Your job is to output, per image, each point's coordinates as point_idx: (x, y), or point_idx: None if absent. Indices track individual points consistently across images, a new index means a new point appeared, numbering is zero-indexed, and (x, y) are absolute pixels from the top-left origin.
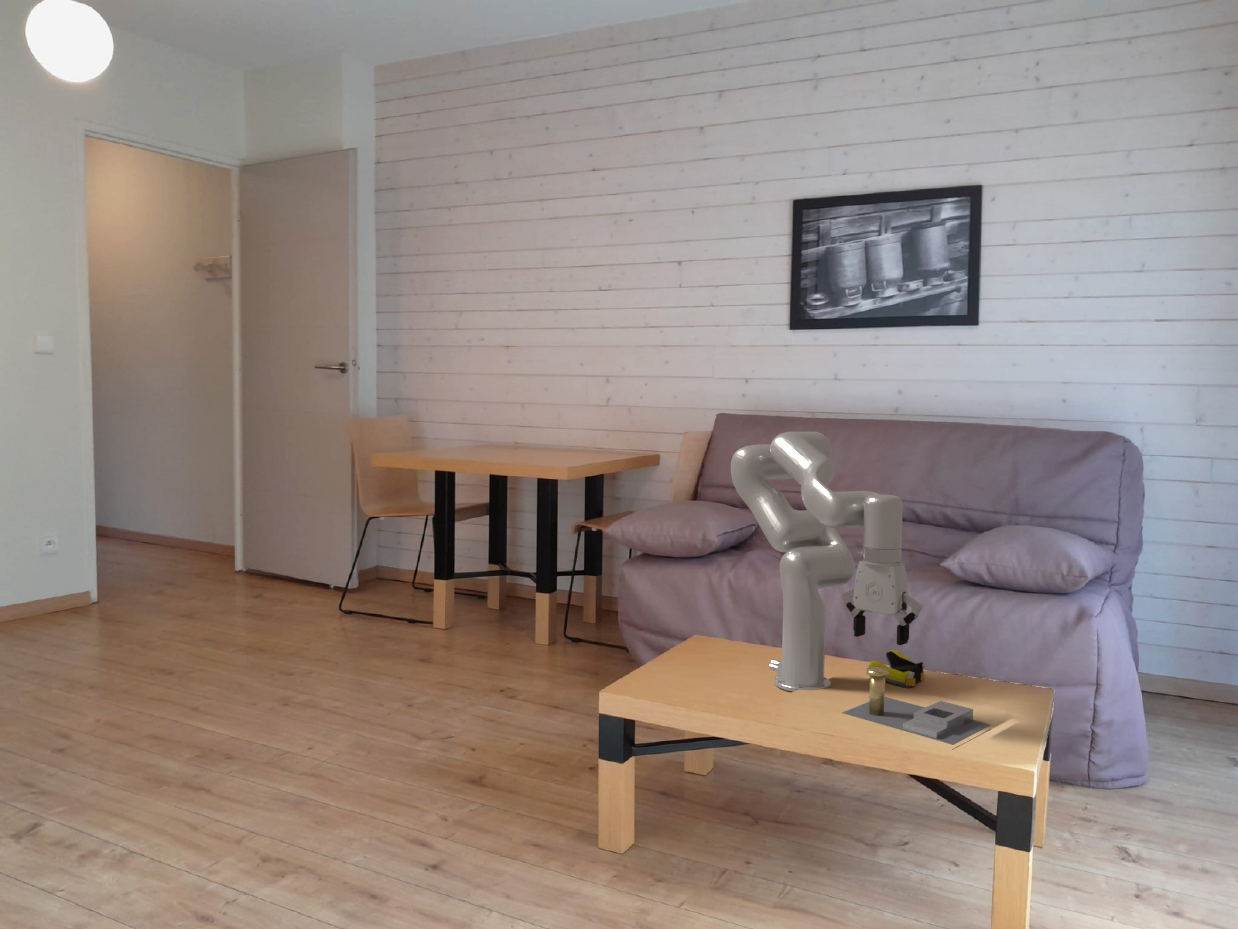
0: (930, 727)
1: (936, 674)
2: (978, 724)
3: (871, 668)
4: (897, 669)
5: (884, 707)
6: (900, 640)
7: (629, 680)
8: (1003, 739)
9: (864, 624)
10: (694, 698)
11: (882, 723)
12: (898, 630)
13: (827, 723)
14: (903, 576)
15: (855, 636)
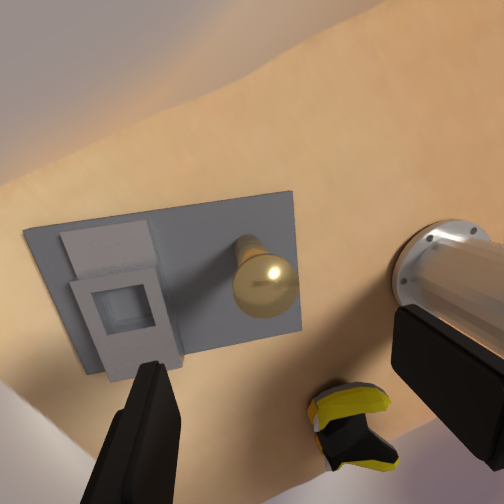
0: (94, 248)
1: (320, 468)
2: (98, 359)
3: (288, 285)
4: (349, 425)
5: None
6: (136, 389)
7: None
8: (41, 351)
9: (435, 405)
10: None
11: (198, 209)
12: (122, 449)
13: (285, 134)
14: None
15: (405, 306)
